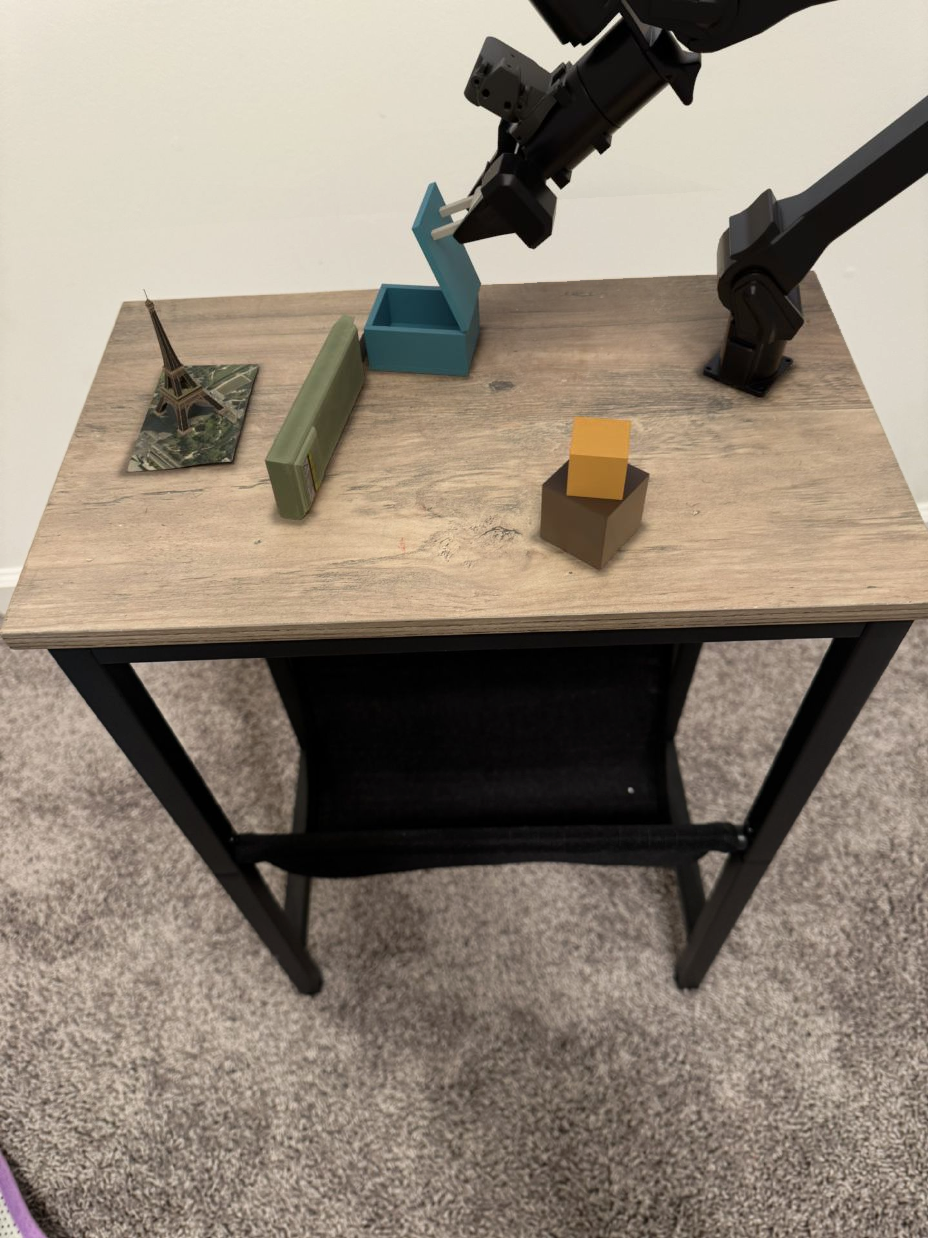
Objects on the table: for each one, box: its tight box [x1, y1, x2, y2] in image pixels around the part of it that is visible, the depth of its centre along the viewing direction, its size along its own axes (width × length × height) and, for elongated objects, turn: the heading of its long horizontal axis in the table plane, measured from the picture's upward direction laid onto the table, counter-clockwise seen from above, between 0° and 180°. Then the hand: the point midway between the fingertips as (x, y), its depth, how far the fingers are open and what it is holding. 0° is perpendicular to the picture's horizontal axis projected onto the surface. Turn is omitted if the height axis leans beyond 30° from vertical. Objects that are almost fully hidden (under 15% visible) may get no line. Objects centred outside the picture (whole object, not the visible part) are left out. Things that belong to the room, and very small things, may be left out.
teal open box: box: [363, 283, 481, 377], centre depth 83 cm, size 10×8×5 cm
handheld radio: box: [264, 314, 368, 521], centre depth 76 cm, size 7×3×25 cm
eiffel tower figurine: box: [126, 288, 260, 473], centre depth 75 cm, size 15×10×13 cm
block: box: [567, 416, 632, 500], centre depth 62 cm, size 4×4×4 cm
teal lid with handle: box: [411, 181, 482, 332], centre depth 76 cm, size 11×8×6 cm
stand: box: [539, 459, 651, 571], centre depth 66 cm, size 6×6×6 cm
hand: (461, 223), depth 74 cm, fingers closed on teal lid with handle, 5 cm apart
